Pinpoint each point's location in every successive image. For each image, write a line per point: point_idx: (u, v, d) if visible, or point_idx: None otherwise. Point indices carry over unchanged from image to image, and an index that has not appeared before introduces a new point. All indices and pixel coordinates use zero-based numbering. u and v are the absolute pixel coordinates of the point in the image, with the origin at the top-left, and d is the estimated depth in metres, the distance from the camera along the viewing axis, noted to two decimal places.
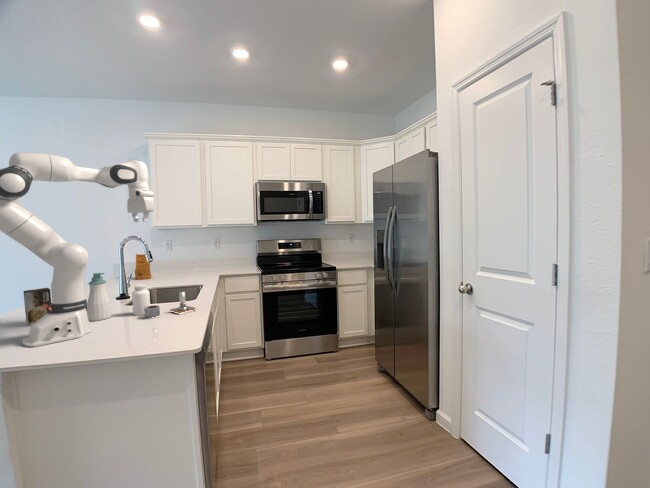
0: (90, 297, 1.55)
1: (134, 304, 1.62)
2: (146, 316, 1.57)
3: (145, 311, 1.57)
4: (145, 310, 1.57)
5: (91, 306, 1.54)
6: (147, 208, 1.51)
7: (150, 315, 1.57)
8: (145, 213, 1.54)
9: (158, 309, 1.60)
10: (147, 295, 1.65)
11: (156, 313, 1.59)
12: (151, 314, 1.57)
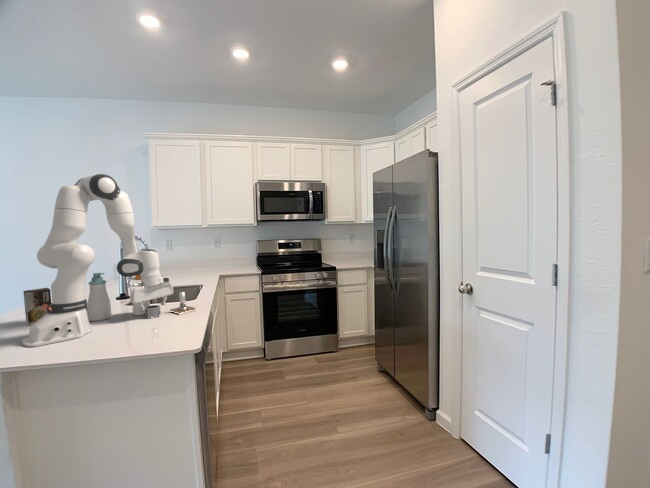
0: (90, 297, 1.55)
1: (134, 304, 1.62)
2: (147, 316, 1.57)
3: (146, 311, 1.58)
4: (146, 310, 1.58)
5: (91, 306, 1.54)
6: None
7: (151, 314, 1.57)
8: None
9: (159, 309, 1.60)
10: None
11: (157, 313, 1.59)
12: (152, 314, 1.57)
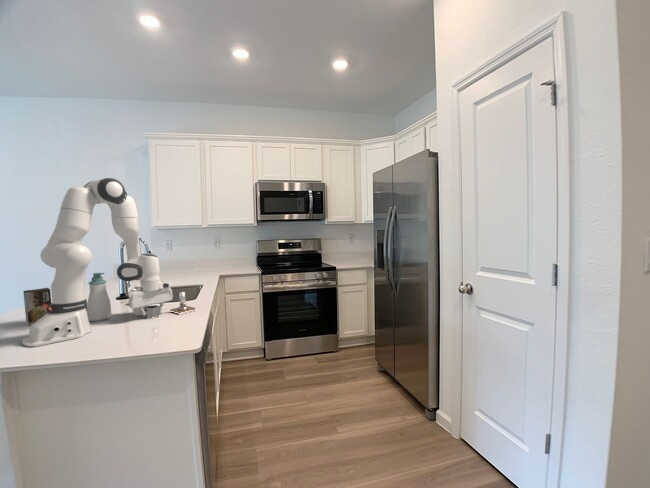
0: (90, 297, 1.55)
1: None
2: (146, 316, 1.57)
3: None
4: (145, 310, 1.57)
5: (91, 306, 1.54)
6: None
7: (150, 315, 1.57)
8: None
9: (158, 309, 1.60)
10: None
11: (156, 313, 1.59)
12: (151, 314, 1.57)
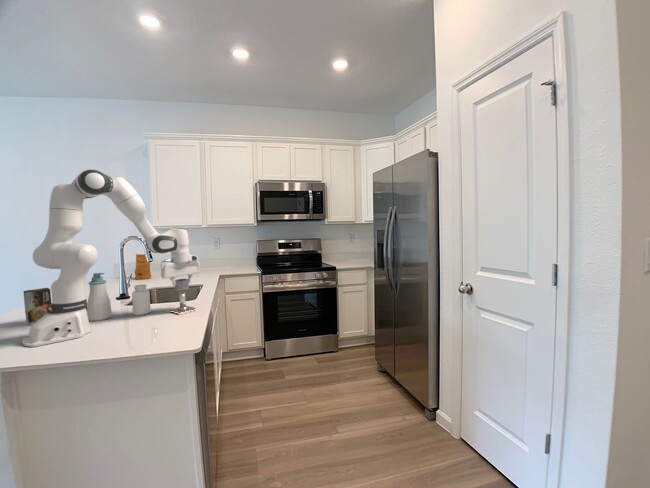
0: (90, 297, 1.55)
1: (134, 304, 1.62)
2: (176, 288, 1.66)
3: None
4: None
5: (91, 306, 1.54)
6: None
7: (180, 287, 1.66)
8: None
9: (187, 282, 1.69)
10: (147, 295, 1.65)
11: (186, 285, 1.67)
12: (181, 286, 1.66)
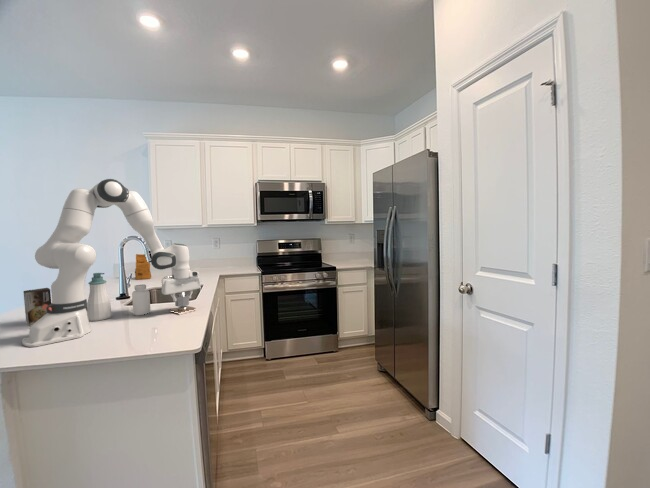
0: (90, 297, 1.55)
1: (134, 304, 1.62)
2: (177, 304, 1.66)
3: None
4: None
5: (91, 306, 1.54)
6: None
7: (181, 303, 1.66)
8: None
9: (188, 298, 1.69)
10: (147, 295, 1.65)
11: (186, 301, 1.68)
12: (182, 302, 1.66)
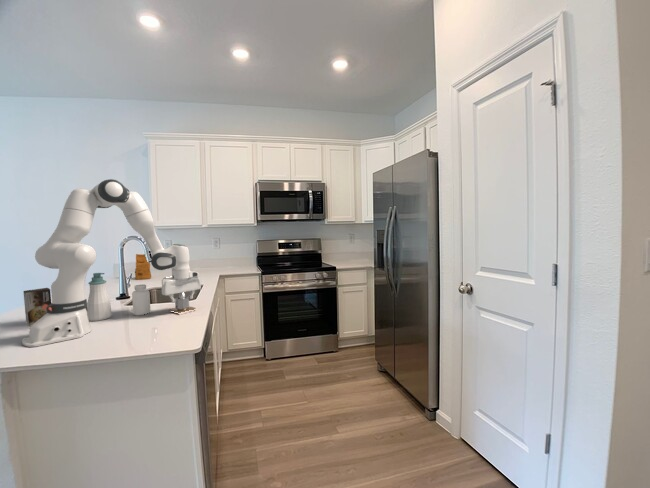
0: (90, 297, 1.55)
1: (134, 304, 1.62)
2: (177, 306, 1.66)
3: (176, 302, 1.66)
4: (176, 301, 1.66)
5: (91, 306, 1.54)
6: None
7: (181, 305, 1.66)
8: None
9: (188, 300, 1.69)
10: (147, 295, 1.65)
11: (186, 303, 1.67)
12: (182, 304, 1.66)
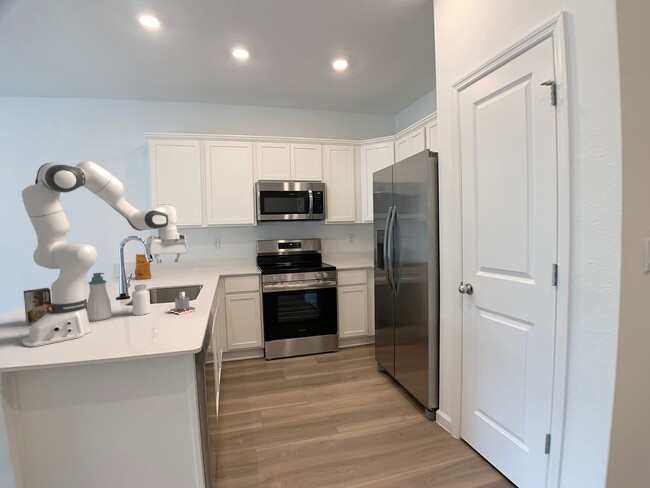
0: (90, 297, 1.55)
1: (134, 304, 1.62)
2: (177, 306, 1.66)
3: (176, 302, 1.66)
4: (176, 301, 1.66)
5: (91, 306, 1.54)
6: None
7: (181, 305, 1.66)
8: None
9: (188, 300, 1.69)
10: (147, 295, 1.65)
11: (186, 303, 1.67)
12: (182, 304, 1.66)
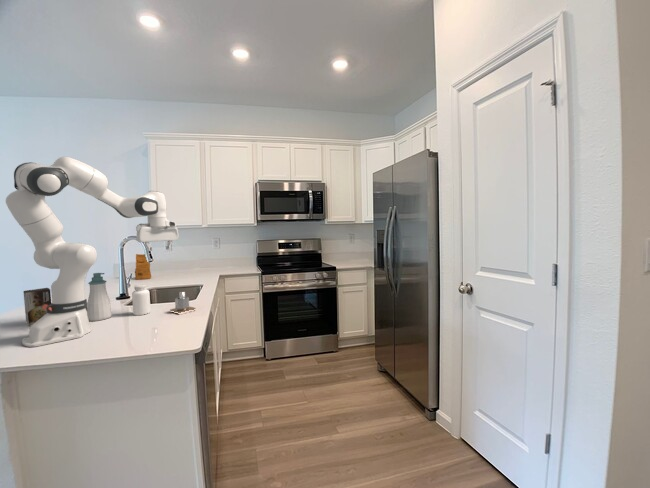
0: (90, 297, 1.55)
1: (134, 304, 1.62)
2: (177, 306, 1.66)
3: (176, 302, 1.66)
4: (176, 301, 1.66)
5: (91, 306, 1.54)
6: None
7: (181, 305, 1.66)
8: None
9: (188, 300, 1.69)
10: (147, 295, 1.65)
11: (186, 303, 1.67)
12: (182, 304, 1.66)
